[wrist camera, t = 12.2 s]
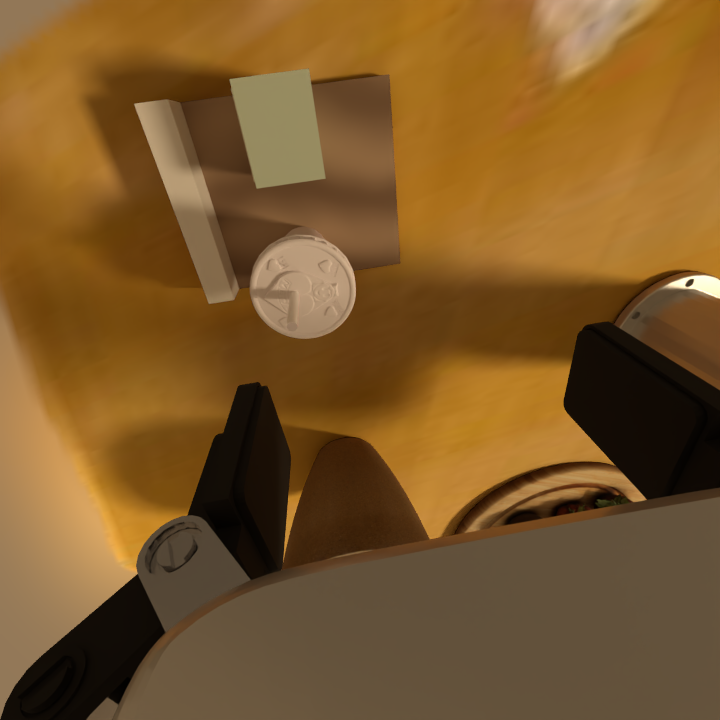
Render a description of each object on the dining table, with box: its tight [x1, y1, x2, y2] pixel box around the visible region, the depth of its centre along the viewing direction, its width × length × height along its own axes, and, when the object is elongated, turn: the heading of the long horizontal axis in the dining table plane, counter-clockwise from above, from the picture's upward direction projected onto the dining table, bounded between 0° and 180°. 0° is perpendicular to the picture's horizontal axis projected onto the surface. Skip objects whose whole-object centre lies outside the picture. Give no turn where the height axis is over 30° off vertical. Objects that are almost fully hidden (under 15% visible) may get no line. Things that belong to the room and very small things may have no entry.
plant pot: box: [282, 438, 430, 570], centre depth 38 cm, size 15×15×16 cm
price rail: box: [134, 99, 239, 304], centre depth 26 cm, size 13×2×4 cm, turn 7°
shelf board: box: [180, 75, 400, 289], centre depth 28 cm, size 13×16×1 cm
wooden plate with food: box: [455, 462, 646, 535], centre depth 56 cm, size 32×32×8 cm
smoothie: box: [250, 227, 356, 339], centre depth 24 cm, size 6×6×14 cm
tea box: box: [229, 69, 326, 189], centre depth 22 cm, size 5×4×7 cm
